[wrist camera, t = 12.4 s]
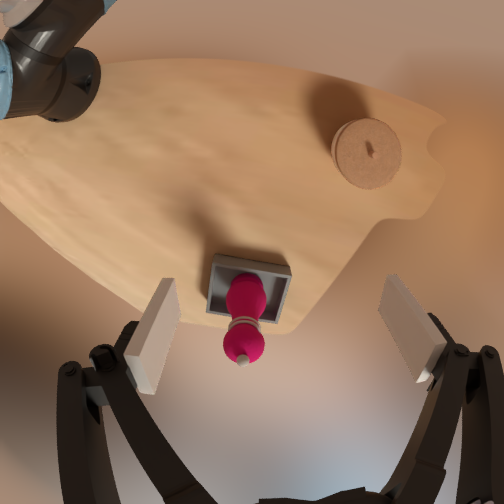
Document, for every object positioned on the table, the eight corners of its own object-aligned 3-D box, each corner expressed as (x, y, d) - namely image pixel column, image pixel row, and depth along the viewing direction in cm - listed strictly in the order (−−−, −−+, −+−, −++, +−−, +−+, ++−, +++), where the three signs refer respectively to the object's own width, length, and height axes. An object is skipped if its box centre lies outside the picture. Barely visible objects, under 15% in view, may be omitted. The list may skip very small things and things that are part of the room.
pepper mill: (248, 263, 52) (243, 338, 34) (273, 288, 54) (280, 366, 36) (220, 285, 54) (204, 362, 36) (246, 308, 56) (241, 387, 38)
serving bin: (208, 302, 56) (205, 312, 53) (215, 253, 52) (212, 262, 49) (276, 313, 57) (277, 323, 54) (289, 266, 53) (291, 275, 50)
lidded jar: (310, 150, 44) (323, 156, 35) (351, 106, 40) (372, 102, 32) (354, 192, 46) (375, 207, 38) (392, 149, 43) (419, 156, 34)
